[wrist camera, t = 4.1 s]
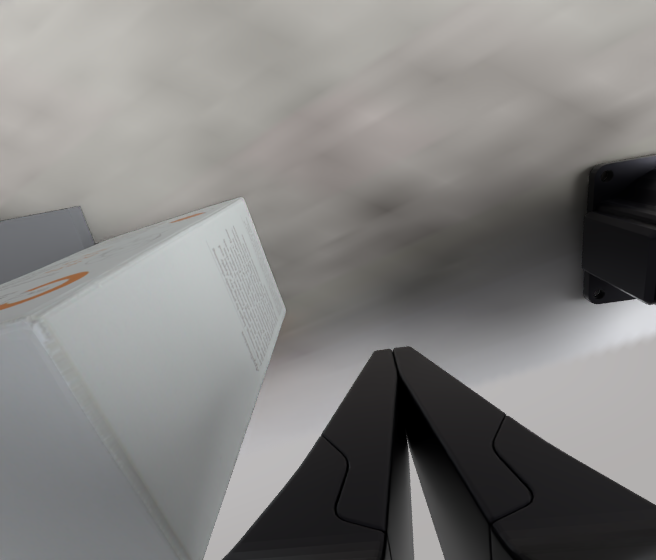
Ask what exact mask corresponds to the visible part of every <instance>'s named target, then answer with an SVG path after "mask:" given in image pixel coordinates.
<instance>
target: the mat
mask: <svg viewBox="0 0 656 560" xmlns="http://www.w3.org/2000/svg"><path fill="white" fill-rule="evenodd" d="M93 245H95V243H94V240H93V238H92V235H91V233H90V230H89V228H88V225H87V223H86V220H85V218H84V215H83V213H82V210H81V208H80V206H77V207H72V208H66V209H61V210H56V211H50V212H45V213H40V214H35V215H29V216H24V217H19V218H13V219H8V220H3V221H0V285H1V284H4V283H6V282H9V281H11V280H14V279H16V278H19V277H21V276H23V275H26V274H28V273H31V272H33V271H36V270H38V269H40V268H43V267H45V266H47V265H50V264H52V263H54V262H56V261H59V260H61V259H63V258H66V257H68V256H70V255H72V254H75V253H77V252H80V251H82V250H84V249H87V248H89V247H91V246H93Z"/></svg>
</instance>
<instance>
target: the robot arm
mask: <svg viewBox="0 0 656 560" xmlns="http://www.w3.org/2000/svg"><path fill="white" fill-rule="evenodd" d="M604 171H607V177H606V178H605V179H604V180H603V181H602V180H601V174H602V173H603V172H604ZM582 268H583V269H584V290H583V294H584V297H585V298H586V299H587V300H588V301H590V302H592V303H594V304H602V303H610V302H617V301H624V300H631V299H638V300H640V301H642V302H644V303H645V304H648V305H652V304H655V305H656V154H653V155H647V156H642V157H636V158H630V159H624V160H619V161H613V162H607V163H602V164H599V165H597V166H595V167H594V168H593V169H592V171H591V172H590V175H589V187H588V208H587V214H586V216H585V217H584V230H583V252H582ZM599 289H600V292H599V294H598V295H596V296H594V293H595V292H596V291H597V290H599ZM406 435H407V436H406ZM407 440H408V443H407ZM408 444H409V448H410V452H411V455H412V458H413V462H414V465H415V468H416V471H417V474H418V477H419V480H420V483H421V486H422V490H423V493H424V496H425V499H426V502H427V505H428V508H429V511H430V514H431V518H432V520H433V524H434V527H435V530H436V533H437V536H438V539H439V542H440V545H441V548H442V552H443V555H444V558H445V560H656V505H655V504H653V503H651V502H649V501H648V500H646V499H644V498H642V497H641V496H639V495H637V494H635V493H634V492H632V491H630V490H629V489H627V488H625V487H623V486H621V485H620V484H618V483H616V482H615V481H613V480H611V479H609V478H608V477H606V476H604V475H602V474H600V473H599V472H597V471H595V470H593V469H592V468H590V467H588V466H587V465H585V464H583V463H582V462H580V461H578V460H576V459H575V458H573V457H571V456H569V455H568V454H566V453H565V452H563V451H561V450H560V449H558V448H556V447H554V446H553V445H551V444H550V443H548V442H546V441H545V440H543V439H542V438H540V437H539V436H537V435H536V434H534V433H533V432H531V431H530V430H528V429H527V428H525V427H524V426H522V425H521V424H520V423H518V422H517V421H515V420H514V419H513V418H511V417H510V416H506V414H505V413H504V412H502V411H501V410H500V409H498V408H497V407H495V406H494V405H492V404H491V403H490V402H488V401H487V400H485V399H484V398H483V397H481V396H480V395H478V394H477V393H475V392H474V391H473V390H471V389H470V388H468V387H467V386H466V385H464V384H463V383H461V382H460V381H458V380H457V379H456V378H454V377H453V376H451V375H450V374H449V373H447V372H446V371H444V370H443V369H441V368H440V367H439V366H437V365H436V364H434V363H433V362H432V361H430V360H429V359H427V358H426V357H424V356H423V355H422V354H420V353H419V352H417V351H416V350H414V349H413V348H412V347H409V346H407V347H400V348H394V349H393V352H392V350H391V349H385V350H377V351H374V352H373V354H372V356H371V357H370V359H369V360H368V362H367V363H366V365H365V367H364V368H363V370H362V371H361V373H360V374H359V376H358V378H357V379H356V381H355V382H354V384H353V385H352V387H351V389H350V390H349V392H348V393H347V395H346V396H345V398H344V400H343V401H342V403H341V404H340V406H339V407H338V409H337V411H336V412H335V414H334V415H333V417H332V418H331V420H330V422H329V423H328V425H327V426H326V428H325V429H324V431H323V433H322V434H321V436H320V437H319V439H318V440H317V442H316V443H315V445H314V446H313V448H312V450H311V451H310V452H309V454H308V455H307V457H306V458H305V460H304V461H303V463H302V464H301V466H300V467H299V468H298V470H297V471H296V472H295V473H294V475H293V476H292V477H291V479H290V480H289V481H288V483H287V484H286V485H285V486H284V488H283V489H282V490H281V491H280V492H279V494H278V495H277V496H276V497H275V498H274V500H273V501H272V502H271V503H270V505H269V506H268V507H267V508H266V509H265V511H264V512H263V513H262V514H261V515H260V517H259V518H258V519H257V520H256V521H255V523H254V524H253V525H252V526H251V527H250V529H249V530H248V531H247V532H246V534H245V535H244V536H243V537H242V538H241V540H240V541H239V542H238V543H237V544H236V545H235V547H234V548H233V549H232V550H231V551H230V552H229V553H228V554H227V555H226V556H225V557H224V558H223V559H222V560H414V549H413V527H412V508H411V488H410V469H409V452H408Z"/></svg>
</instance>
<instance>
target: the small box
mask: <svg viewBox="0 0 656 560" xmlns="http://www.w3.org/2000/svg"><path fill="white" fill-rule="evenodd" d="M285 314H286V308H285V305H284V303H283V300H282V298H281V295H280V293H279V290H278V288H277V285H276V282H275V279H274V277H273V274H272V272H271V269H270V266H269V264H268V261H267V258H266V256H265V253H264V251H263V248H262V245H261V242H260V240H259V237H258V234H257V232H256V229H255V226H254V224H253V221H252V219H251V216H250V213H249V210H248V208H247V205H246V202H245V200H244V199H243V198H242V197H239V198H235V199H232V200H229V201H225V202H222V203H219V204H216V205H212V206H209V207H206V208H203V209H200V210H197V211H194V212H190V213H187V214H184V215H181V216H178V217H175V218H172V219H169V220H166V221H163V222H160V223H157V224H153V225H150V226H147V227H144V228H141V229H138V230H135V231H132V232H129V233H126V234H123V235H120V236H117V237H114V238H111V239H108V240H106V241H103V242H100V243H98V244H96V245H93V246H91V247H89V248H87V249H84V250H82V251H80V252H77V253H75V254H72V255H70V256H68V257H66V258H63V259H61V260H59V261H56V262H54V263H52V264H50V265H47V266H45V267H43V268H40V269H38V270H36V271H33V272H31V273H28V274H26V275H23V276H21V277H19V278H16V279H14V280H11V281H9V282H6V283H4V284H1V285H0V560H203V558H204V555H205V552H206V549H207V546H208V543H209V540H210V537H211V533H212V531H213V528H214V525H215V522H216V519H217V516H218V513H219V510H220V507H221V505H222V501H223V498H224V495H225V493H226V490H227V487H228V484H229V481H230V478H231V475H232V472H233V469H234V466H235V463H236V460H237V457H238V454H239V451H240V448H241V445H242V442H243V439H244V435H245V433H246V430H247V427H248V424H249V421H250V418H251V415H252V412H253V409H254V406H255V403H256V400H257V397H258V394H259V391H260V388H261V385H262V383H263V380H264V377H265V374H266V371H267V368H268V365H269V362H270V359H271V356H272V353H273V350H274V347H275V344H276V341H277V338H278V335H279V332H280V329H281V326H282V323H283V320H284V317H285Z"/></svg>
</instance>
